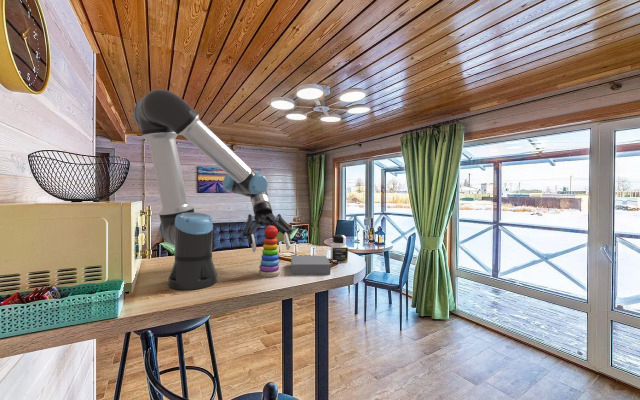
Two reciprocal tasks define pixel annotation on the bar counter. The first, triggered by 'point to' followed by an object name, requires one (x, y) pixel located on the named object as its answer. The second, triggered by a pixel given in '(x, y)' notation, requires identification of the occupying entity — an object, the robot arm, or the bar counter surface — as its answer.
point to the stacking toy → (270, 254)
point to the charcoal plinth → (310, 265)
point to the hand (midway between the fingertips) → (272, 249)
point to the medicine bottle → (339, 249)
